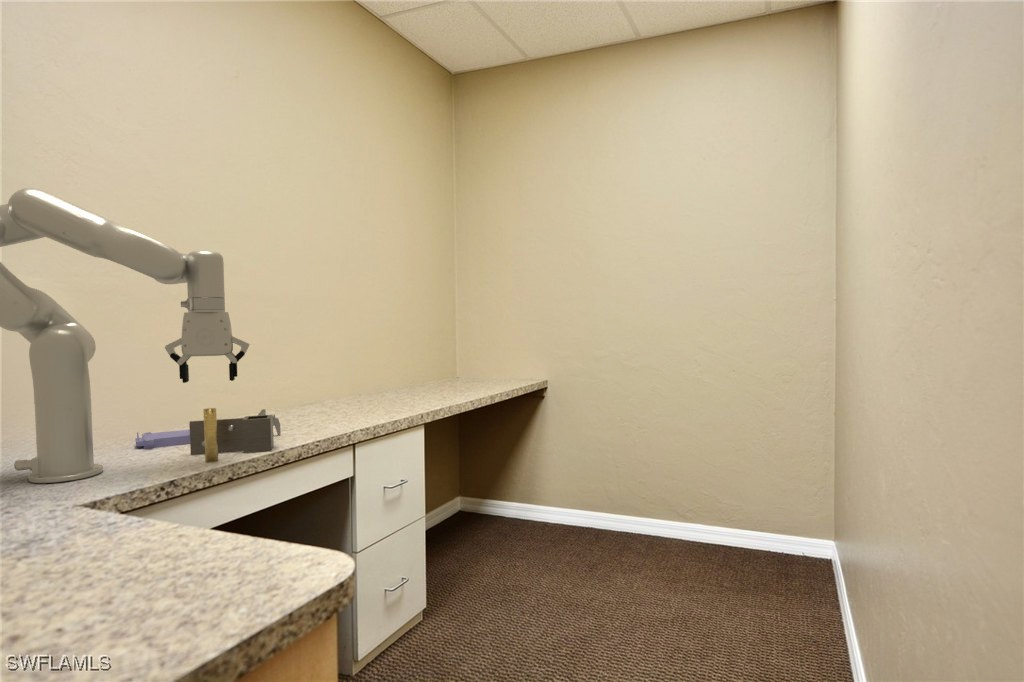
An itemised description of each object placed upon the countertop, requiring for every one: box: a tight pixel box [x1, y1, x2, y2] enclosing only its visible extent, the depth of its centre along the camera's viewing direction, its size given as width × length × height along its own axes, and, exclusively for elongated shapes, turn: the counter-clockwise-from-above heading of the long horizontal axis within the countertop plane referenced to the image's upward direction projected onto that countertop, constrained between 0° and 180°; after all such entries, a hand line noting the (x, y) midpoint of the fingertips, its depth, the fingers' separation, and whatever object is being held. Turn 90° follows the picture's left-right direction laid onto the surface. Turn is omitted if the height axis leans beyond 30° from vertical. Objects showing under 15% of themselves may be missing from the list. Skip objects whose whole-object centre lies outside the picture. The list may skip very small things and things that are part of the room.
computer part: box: [135, 423, 190, 450], centre depth 167 cm, size 30×4×15 cm
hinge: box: [189, 409, 275, 456], centre depth 155 cm, size 18×18×8 cm
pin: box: [202, 407, 219, 463], centre depth 139 cm, size 3×3×12 cm
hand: (209, 381), depth 139 cm, fingers open, 9 cm apart
